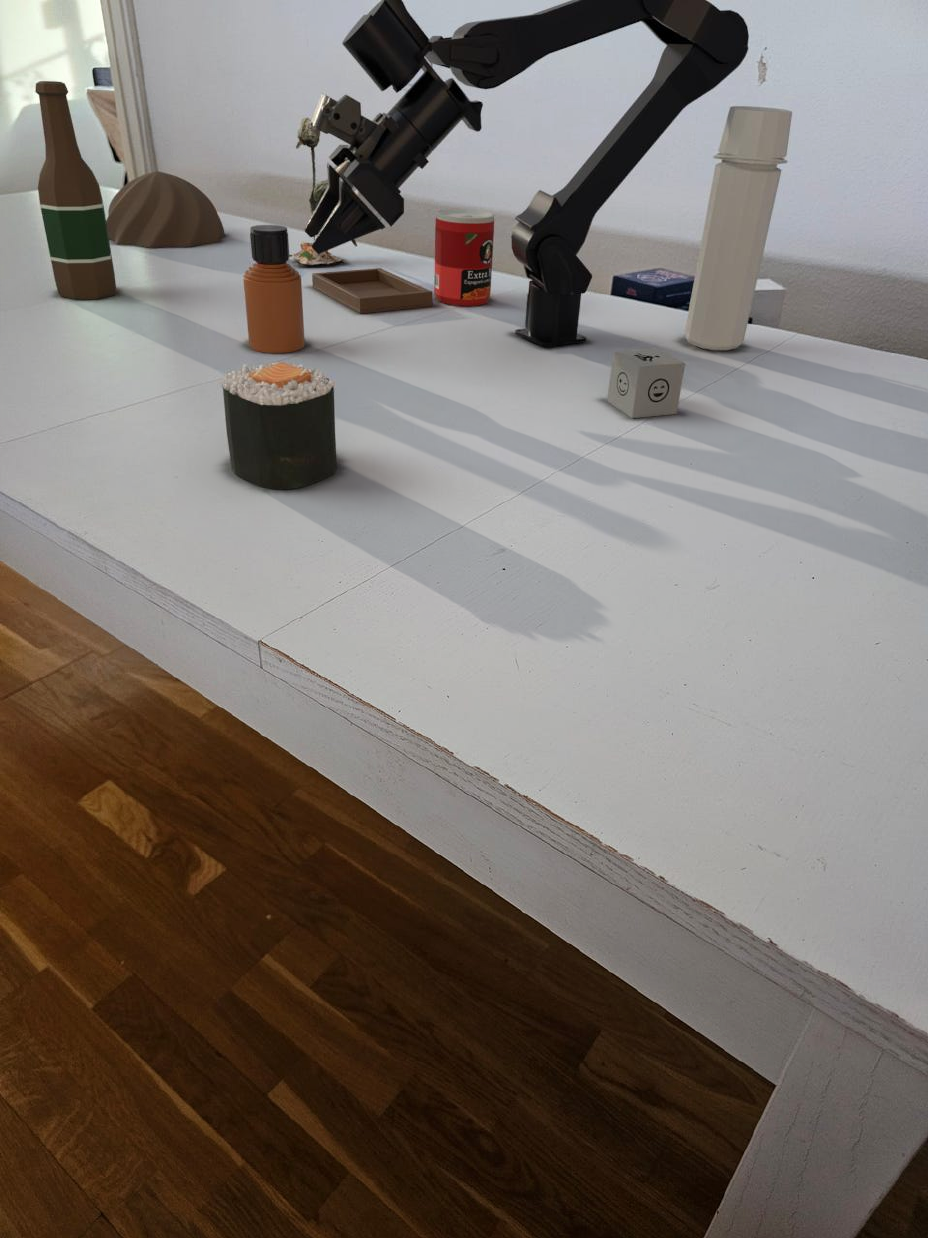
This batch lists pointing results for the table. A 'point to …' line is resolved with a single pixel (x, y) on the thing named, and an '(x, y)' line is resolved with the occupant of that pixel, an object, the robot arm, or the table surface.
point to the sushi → (280, 425)
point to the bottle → (274, 308)
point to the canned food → (463, 256)
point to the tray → (371, 290)
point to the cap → (269, 243)
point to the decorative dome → (162, 214)
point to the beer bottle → (72, 205)
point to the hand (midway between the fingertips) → (310, 241)
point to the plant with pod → (313, 198)
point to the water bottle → (737, 225)
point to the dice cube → (645, 382)
